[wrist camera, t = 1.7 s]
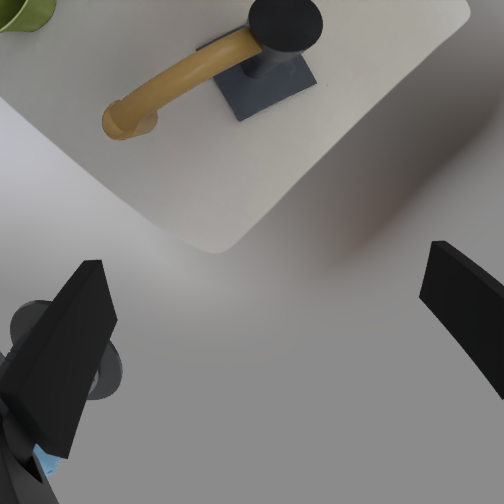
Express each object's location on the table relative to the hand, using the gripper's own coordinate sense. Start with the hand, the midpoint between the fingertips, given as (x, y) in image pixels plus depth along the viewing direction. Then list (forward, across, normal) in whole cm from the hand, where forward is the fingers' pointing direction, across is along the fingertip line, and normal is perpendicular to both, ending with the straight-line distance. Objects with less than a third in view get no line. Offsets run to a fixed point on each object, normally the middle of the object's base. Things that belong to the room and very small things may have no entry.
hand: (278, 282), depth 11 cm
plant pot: (+27, +26, -25) cm, 45 cm away
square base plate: (+27, -2, -12) cm, 29 cm away
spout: (+16, +3, -9) cm, 19 cm away
